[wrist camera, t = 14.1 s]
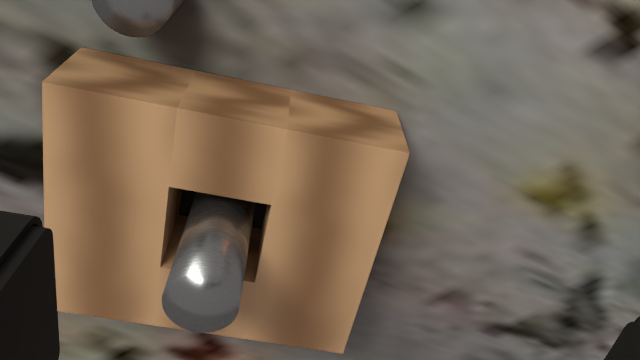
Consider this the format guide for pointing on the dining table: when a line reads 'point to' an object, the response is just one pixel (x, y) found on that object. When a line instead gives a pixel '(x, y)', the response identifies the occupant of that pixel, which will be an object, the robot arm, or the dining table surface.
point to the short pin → (135, 15)
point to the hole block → (214, 192)
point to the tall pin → (209, 264)
